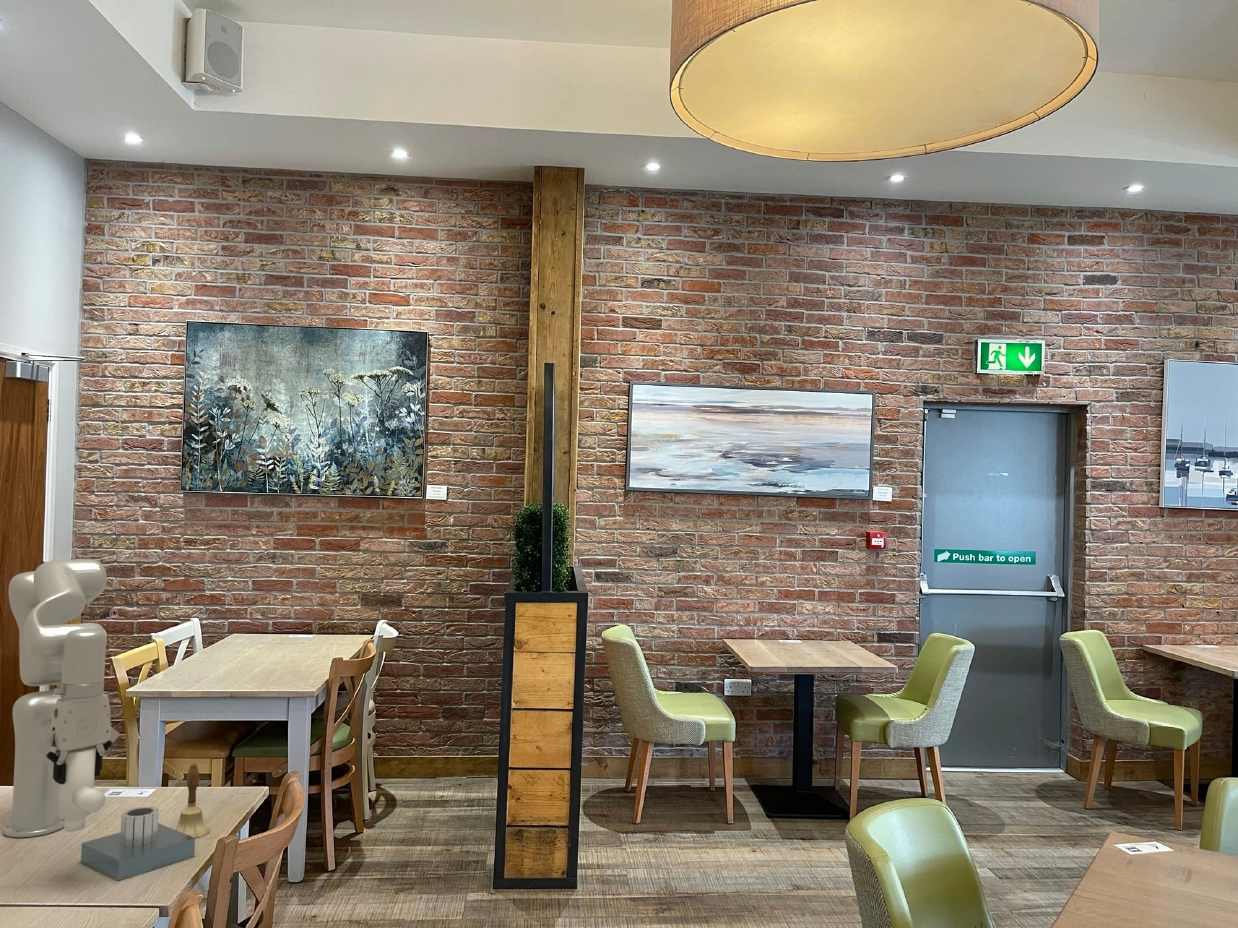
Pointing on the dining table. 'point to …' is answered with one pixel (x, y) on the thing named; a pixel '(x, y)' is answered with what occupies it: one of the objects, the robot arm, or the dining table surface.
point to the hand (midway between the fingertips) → (77, 777)
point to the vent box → (137, 846)
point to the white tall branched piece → (79, 789)
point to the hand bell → (192, 809)
